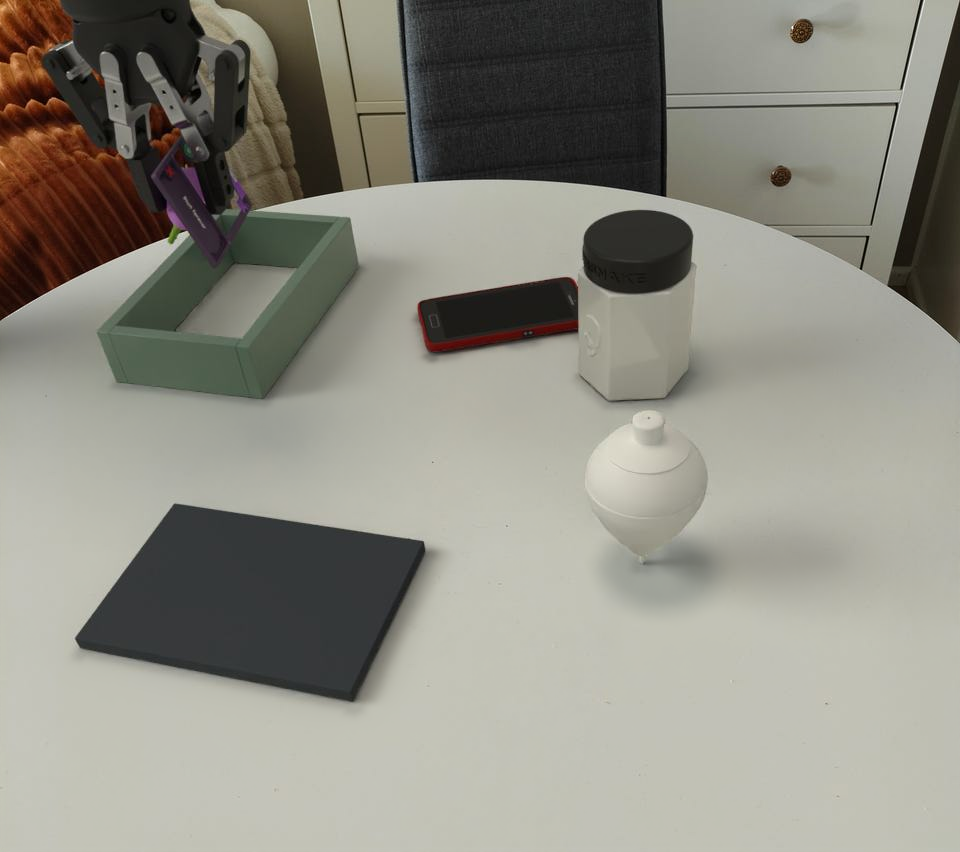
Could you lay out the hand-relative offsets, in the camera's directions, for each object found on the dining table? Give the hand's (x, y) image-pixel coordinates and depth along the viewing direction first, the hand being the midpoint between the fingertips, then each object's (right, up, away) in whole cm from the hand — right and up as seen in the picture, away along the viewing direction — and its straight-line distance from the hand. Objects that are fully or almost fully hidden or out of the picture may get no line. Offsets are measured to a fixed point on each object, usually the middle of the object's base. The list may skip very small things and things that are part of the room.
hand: (190, 207), depth 70 cm
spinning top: (+31, -25, 0) cm, 39 cm away
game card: (+1, -2, +2) cm, 2 cm away
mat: (+4, -27, +1) cm, 27 cm away
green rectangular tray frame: (-2, 0, +25) cm, 25 cm away
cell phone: (+22, -1, +22) cm, 31 cm away
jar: (+33, -8, +15) cm, 37 cm away
